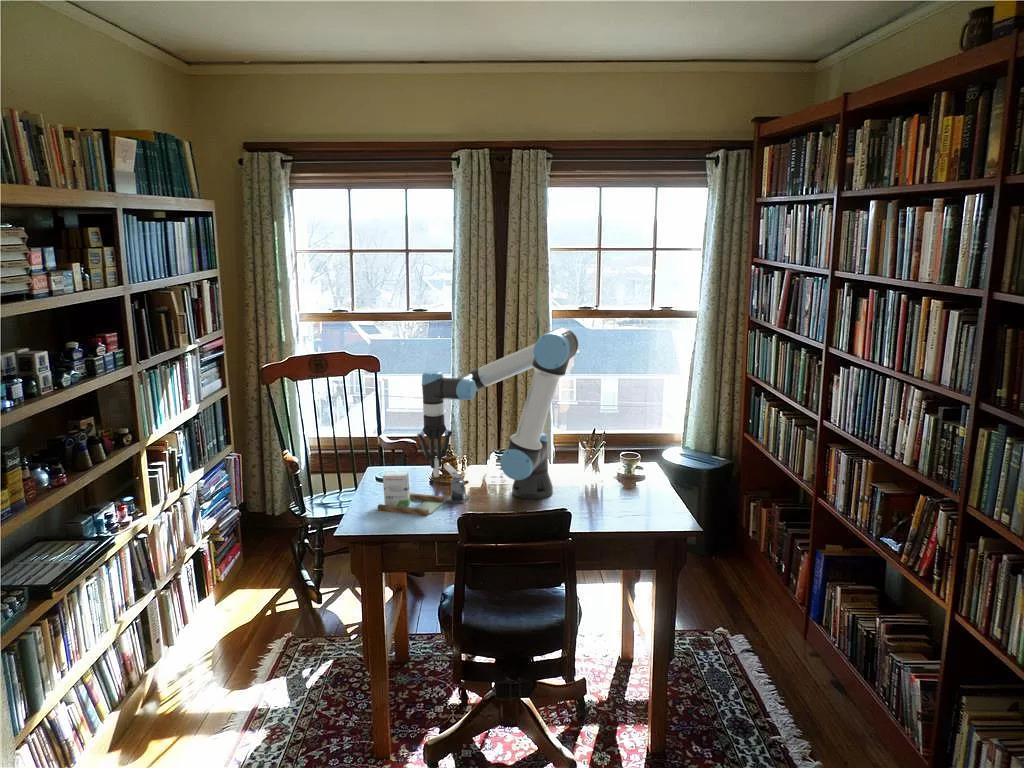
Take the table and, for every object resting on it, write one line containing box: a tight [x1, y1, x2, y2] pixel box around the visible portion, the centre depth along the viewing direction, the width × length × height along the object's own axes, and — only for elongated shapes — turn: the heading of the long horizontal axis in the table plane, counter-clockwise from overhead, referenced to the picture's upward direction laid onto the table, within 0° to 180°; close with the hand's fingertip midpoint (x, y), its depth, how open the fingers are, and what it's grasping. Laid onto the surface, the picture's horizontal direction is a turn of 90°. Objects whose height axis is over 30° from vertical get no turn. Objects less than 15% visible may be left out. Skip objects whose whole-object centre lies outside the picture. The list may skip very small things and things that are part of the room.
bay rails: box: [377, 492, 445, 517], centre depth 275 cm, size 19×15×2 cm
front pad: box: [416, 501, 444, 515], centre depth 273 cm, size 7×11×1 cm, turn 161°
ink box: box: [382, 471, 411, 507], centre depth 276 cm, size 9×5×12 cm, turn 85°
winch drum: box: [445, 478, 472, 504], centre depth 280 cm, size 7×7×8 cm
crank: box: [443, 462, 463, 480], centre depth 285 cm, size 16×4×2 cm, turn 21°
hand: (436, 475), depth 283 cm, fingers closed
